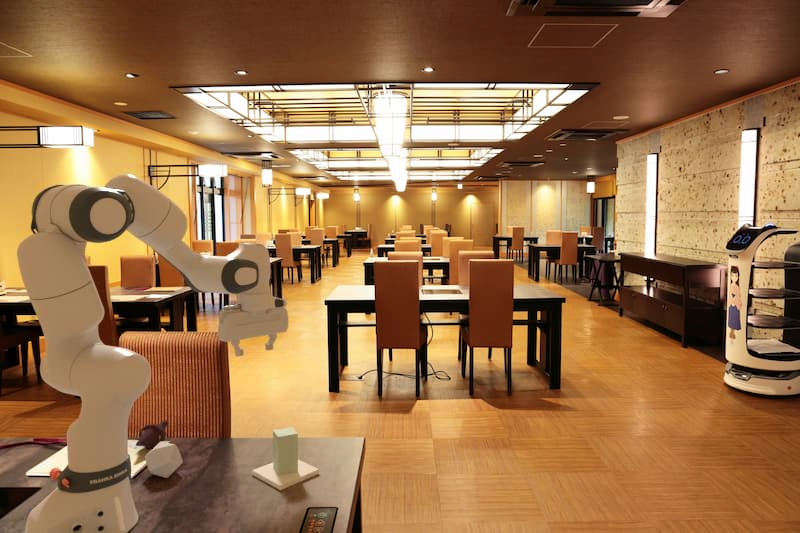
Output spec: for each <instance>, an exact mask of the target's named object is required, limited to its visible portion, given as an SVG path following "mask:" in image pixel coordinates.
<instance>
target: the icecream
mask: <svg viewBox="0 0 800 533" xmlns="http://www.w3.org/2000/svg"><path fill="white" fill-rule="evenodd" d="M169 423H170V422H169V420H167V419H165V420H162V421H160V423H159V424H156V423H152V424H147V425H144V427H142V428H141V429H140V430H138V431H139V434H138V438H139V439H138V440H137V442H136V444H135V446H136V447H144V448H146V449H147V448H154V447H155V446H156V445H157V444H158V443H159V442H161V441H162V442H164V441H165V440H166V436H167V433H166V430H165V429H166V428H167V427H168V425H169Z"/></svg>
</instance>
